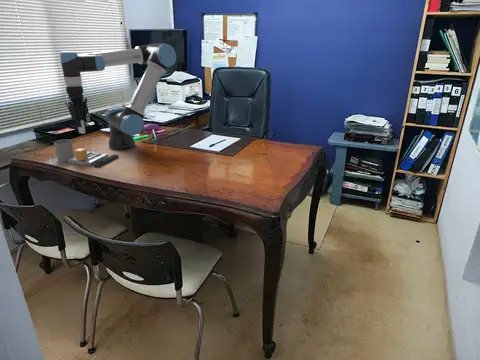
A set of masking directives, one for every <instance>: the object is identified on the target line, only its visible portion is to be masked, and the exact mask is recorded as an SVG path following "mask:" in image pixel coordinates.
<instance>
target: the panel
mask: <svg viewBox="0 0 480 360" xmlns="http://www.w3.org/2000/svg"><path fill="white" fill-rule="evenodd" d="M87 157H88V158H87V159H85V160H83V161H80V160H76V158H75V157H73V158H71V159H69V160H68V162H67V163H68V164H71V165H79V166H86V167H94V164H95V163H97V162H99V161H101V160H103V159H105V158H108V157H110V155H109V154H108V153H102V152H93V151H87Z"/></svg>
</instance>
